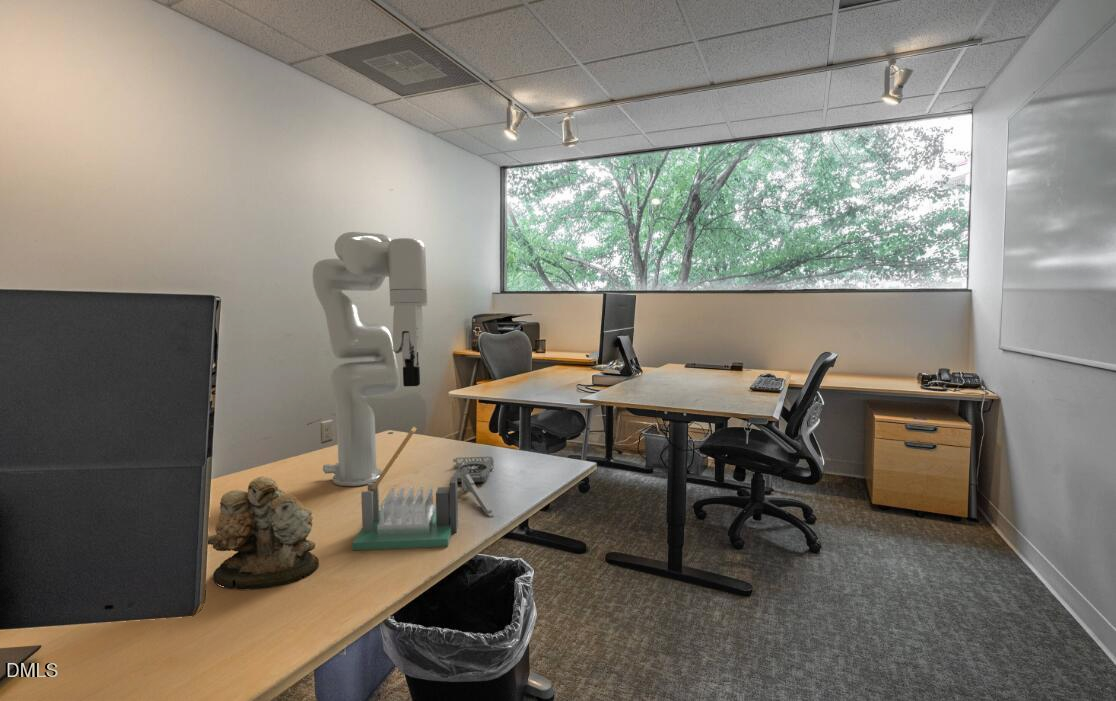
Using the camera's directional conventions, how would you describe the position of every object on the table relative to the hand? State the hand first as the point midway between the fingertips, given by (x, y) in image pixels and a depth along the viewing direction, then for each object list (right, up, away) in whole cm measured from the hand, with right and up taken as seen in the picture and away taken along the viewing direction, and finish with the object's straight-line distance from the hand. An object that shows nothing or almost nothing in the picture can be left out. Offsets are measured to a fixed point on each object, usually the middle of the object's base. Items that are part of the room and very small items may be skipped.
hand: (411, 385), depth 112 cm
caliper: (+12, -29, +14) cm, 34 cm away
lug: (+7, -30, -2) cm, 31 cm away
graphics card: (+7, -28, +33) cm, 44 cm away
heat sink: (0, -29, -2) cm, 29 cm away
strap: (-3, -16, -4) cm, 17 cm away
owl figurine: (-21, -32, -19) cm, 43 cm away
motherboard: (0, -30, -2) cm, 30 cm away
